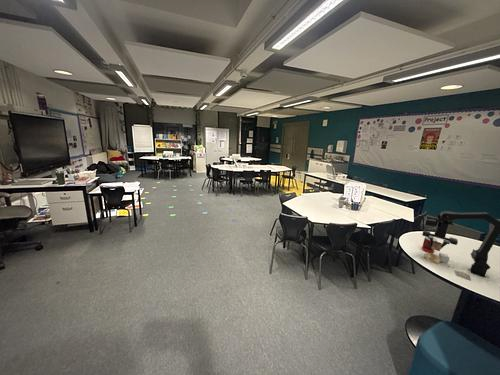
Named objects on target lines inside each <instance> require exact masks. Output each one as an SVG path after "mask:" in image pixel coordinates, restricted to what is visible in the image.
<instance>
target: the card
mask: <svg viewBox="0 0 500 375" xmlns="http://www.w3.org/2000/svg"><path fill="white" fill-rule="evenodd" d="M454 273H455V276H456V275H457V276H456V277H459V278H462V279H465V280H469V281H472V278H471V275H470V274H467V273H465V272H461V271H459V270H454Z"/></svg>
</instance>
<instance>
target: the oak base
mask: <svg viewBox="0 0 500 375" xmlns="http://www.w3.org/2000/svg"><path fill="white" fill-rule="evenodd" d="M425 252H426V251H425ZM424 257H425V261H427V262H430V263H434V264H436V265H440V258H439V254H435V253H428V252H426V253H425V256H424Z"/></svg>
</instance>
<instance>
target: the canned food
mask: <svg viewBox="0 0 500 375" xmlns="http://www.w3.org/2000/svg"><path fill="white" fill-rule="evenodd" d="M433 241H436V242H438V238H436V237H433ZM422 242H423V243H422V246H421V249H422V251H423V252H428V253H432V254H434V252H435V250H433V249H431V248H432V247H431V241H430V239H429V238H428V237H426V236H424V239H423V241H422Z"/></svg>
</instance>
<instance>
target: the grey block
mask: <svg viewBox="0 0 500 375" xmlns="http://www.w3.org/2000/svg"><path fill="white" fill-rule="evenodd" d="M438 255H439V258H440V262H441V263H444V264H448V263H449V260H450V256H449V255H448V254H446V253H441V252H438ZM440 262H439V263H440Z"/></svg>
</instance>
